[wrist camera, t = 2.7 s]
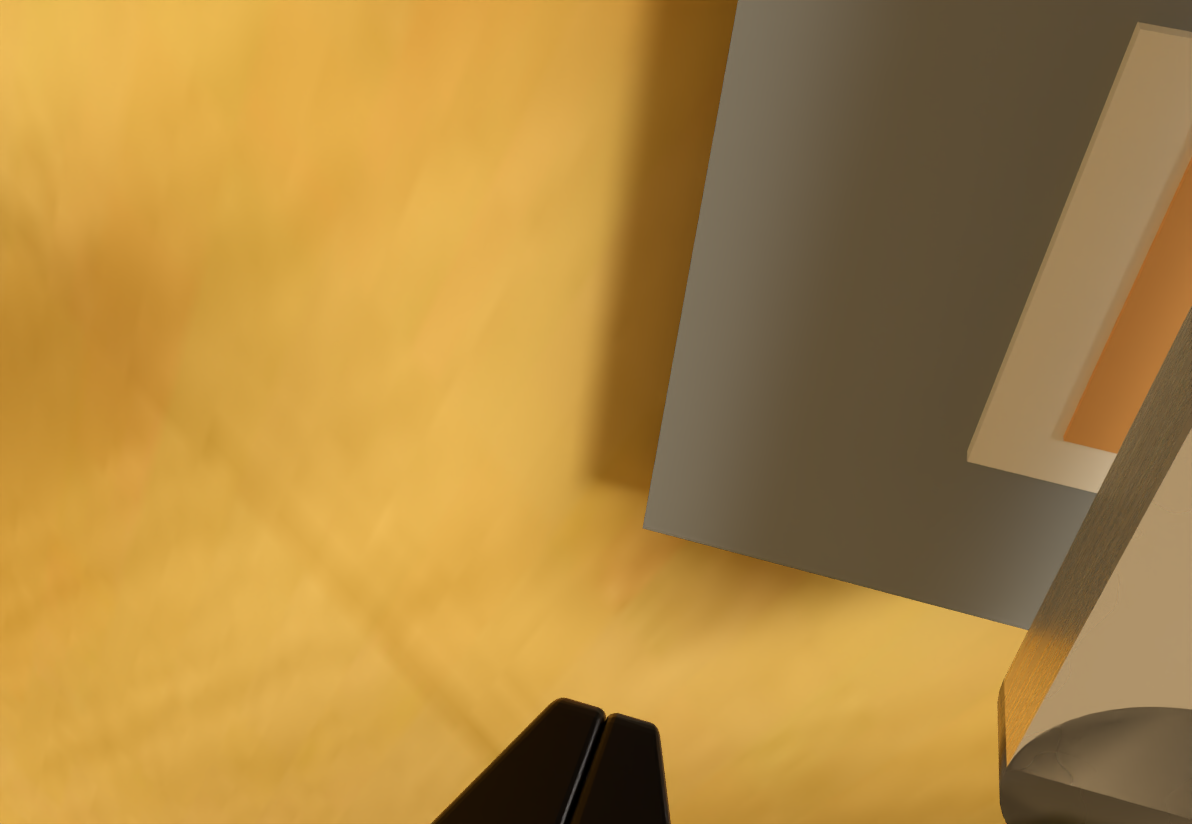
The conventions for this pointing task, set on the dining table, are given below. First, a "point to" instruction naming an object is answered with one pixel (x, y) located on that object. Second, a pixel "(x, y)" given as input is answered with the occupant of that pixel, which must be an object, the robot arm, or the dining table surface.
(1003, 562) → the label board
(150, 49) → the dining table surface
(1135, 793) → the swing arm
